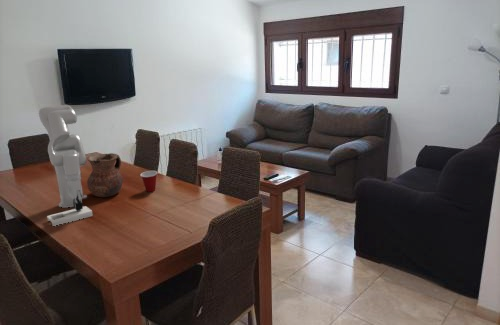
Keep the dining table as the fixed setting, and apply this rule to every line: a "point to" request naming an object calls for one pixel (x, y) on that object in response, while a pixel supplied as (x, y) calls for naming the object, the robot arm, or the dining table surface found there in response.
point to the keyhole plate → (69, 216)
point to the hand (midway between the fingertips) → (78, 208)
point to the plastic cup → (149, 180)
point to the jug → (105, 175)
